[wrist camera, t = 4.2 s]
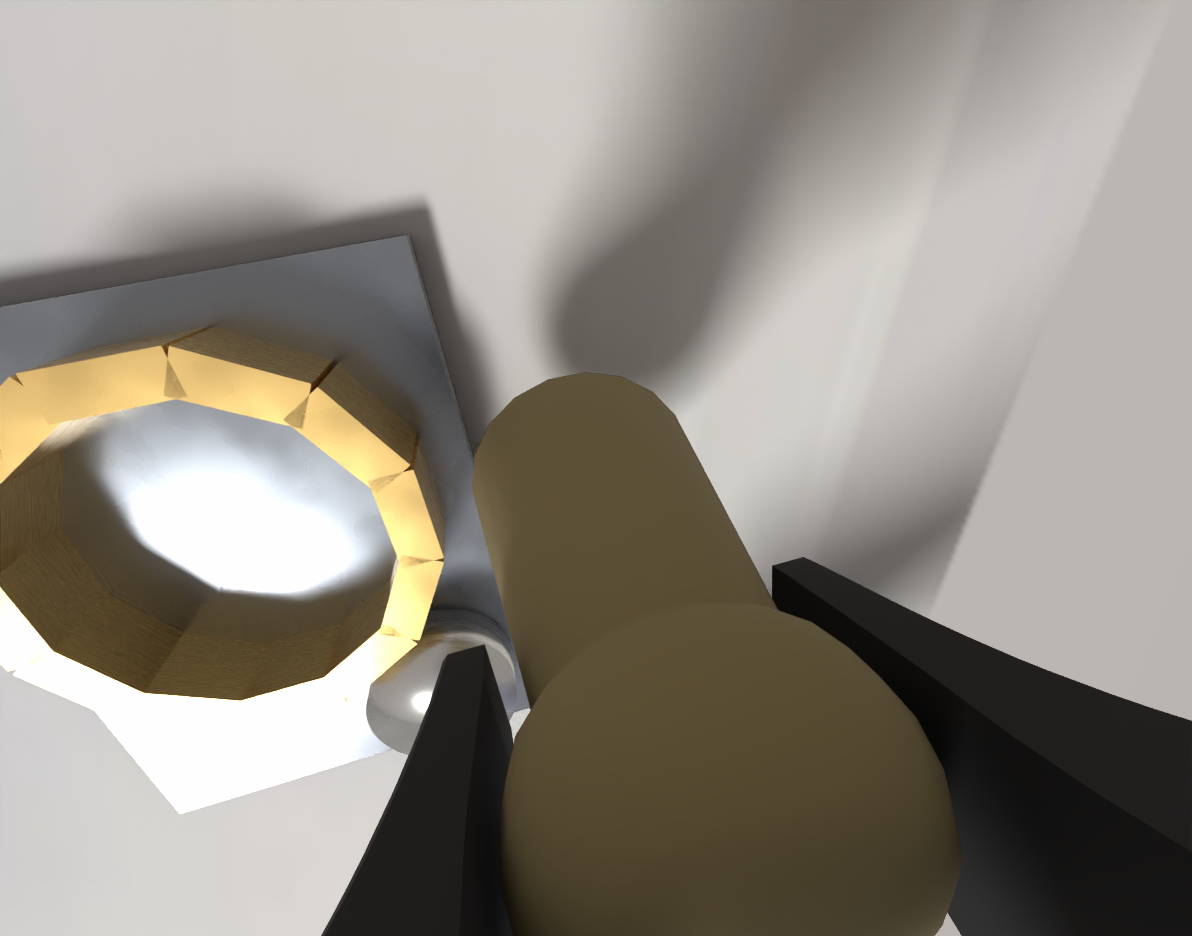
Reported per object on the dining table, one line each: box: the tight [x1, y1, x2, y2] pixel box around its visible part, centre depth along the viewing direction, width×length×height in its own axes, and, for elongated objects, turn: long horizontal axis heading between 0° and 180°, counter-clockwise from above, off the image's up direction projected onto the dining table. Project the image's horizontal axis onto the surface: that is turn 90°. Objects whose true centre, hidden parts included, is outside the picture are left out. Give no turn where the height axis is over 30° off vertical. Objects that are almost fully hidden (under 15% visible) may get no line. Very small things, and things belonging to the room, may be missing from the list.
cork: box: [472, 372, 964, 936], centre depth 10 cm, size 6×6×11 cm
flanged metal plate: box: [0, 235, 530, 814], centre depth 17 cm, size 18×14×4 cm
